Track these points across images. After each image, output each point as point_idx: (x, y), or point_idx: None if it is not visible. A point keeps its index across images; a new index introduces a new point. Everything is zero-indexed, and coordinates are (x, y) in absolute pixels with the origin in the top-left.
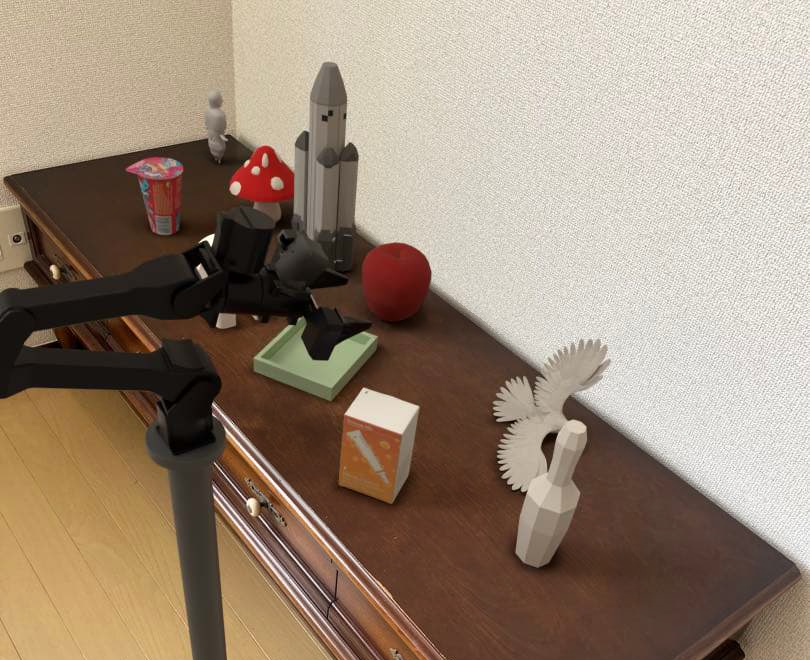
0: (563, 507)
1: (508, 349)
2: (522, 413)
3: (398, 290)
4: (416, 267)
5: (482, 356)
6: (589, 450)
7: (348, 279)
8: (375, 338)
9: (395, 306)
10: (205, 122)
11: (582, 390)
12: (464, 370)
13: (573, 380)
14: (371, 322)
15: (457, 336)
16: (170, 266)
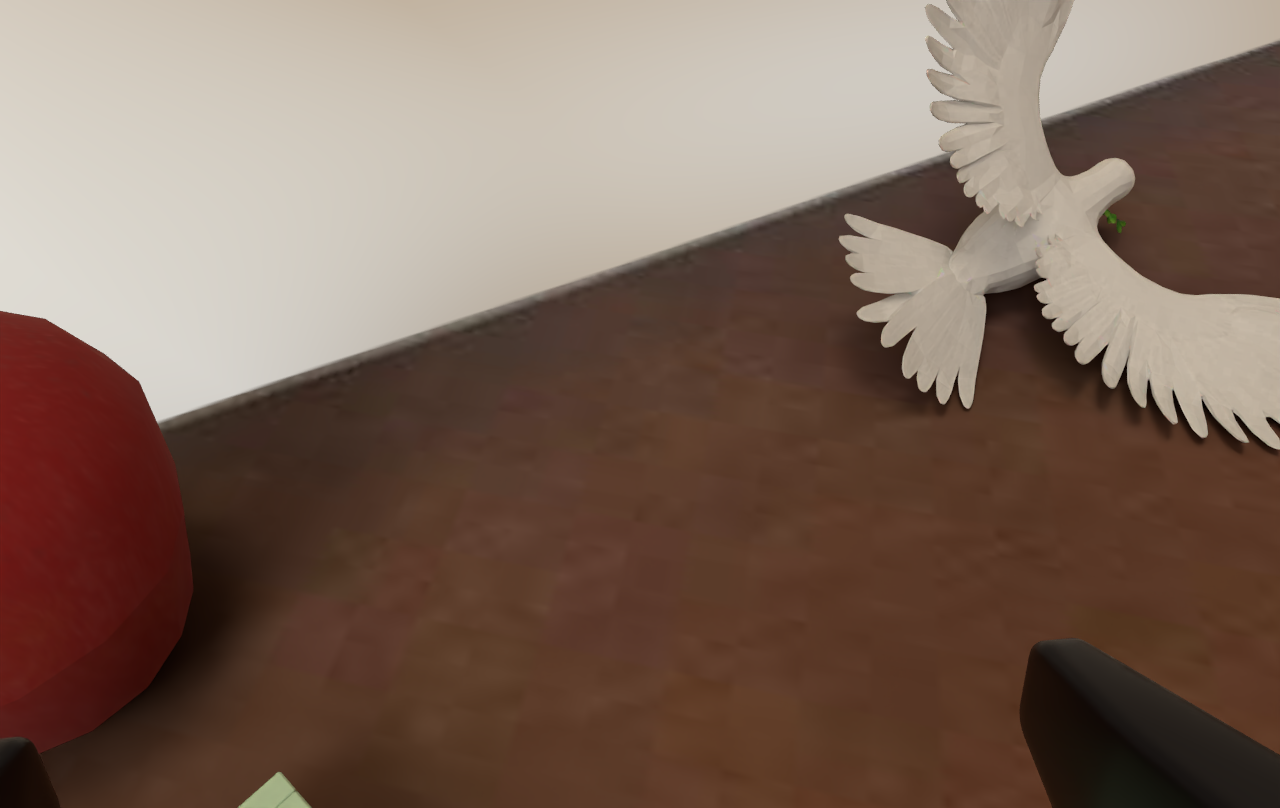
0: None
1: (522, 307)
2: (972, 305)
3: (95, 508)
4: (18, 346)
5: (537, 383)
6: None
7: (24, 741)
8: (290, 790)
9: (146, 591)
10: None
11: (1057, 38)
12: (609, 454)
13: (1024, 33)
14: (1080, 641)
15: (380, 438)
16: None
